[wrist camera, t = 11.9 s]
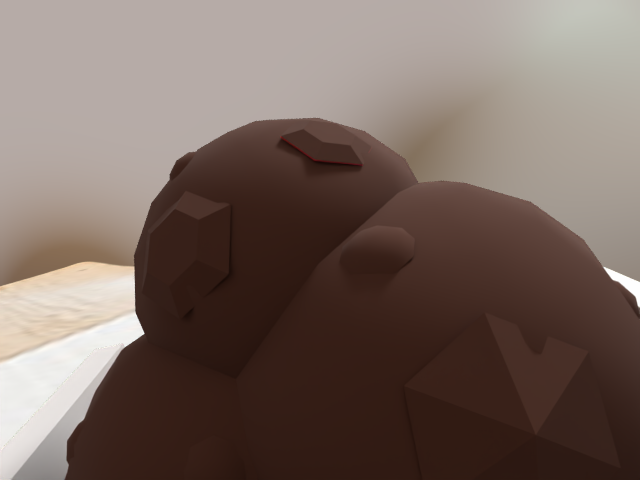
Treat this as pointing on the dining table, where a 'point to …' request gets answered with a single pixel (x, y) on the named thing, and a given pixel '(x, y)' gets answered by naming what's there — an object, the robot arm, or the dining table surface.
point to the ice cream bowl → (360, 328)
